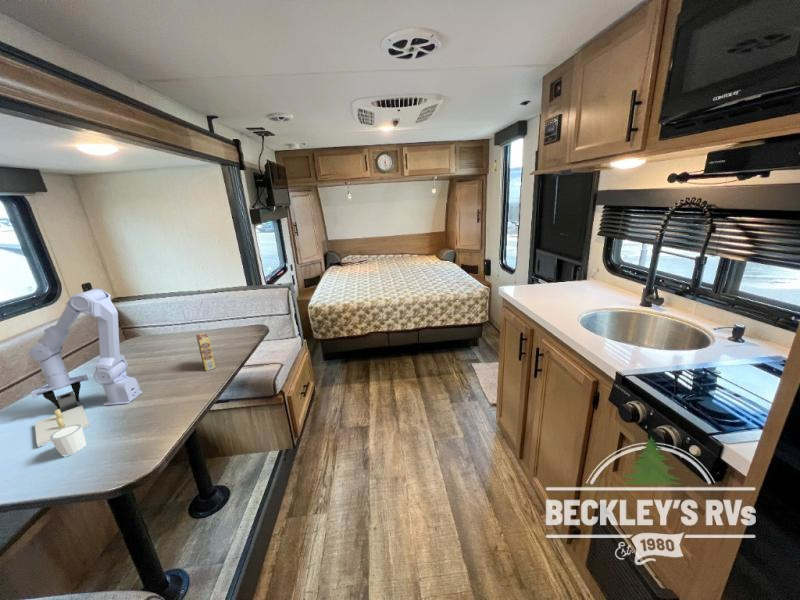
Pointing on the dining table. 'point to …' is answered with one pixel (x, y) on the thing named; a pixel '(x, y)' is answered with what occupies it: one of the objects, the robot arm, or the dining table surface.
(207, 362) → the candy box
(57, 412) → the housing base
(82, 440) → the white faceted cup
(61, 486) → the dining table surface
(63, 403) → the grey hollow block
